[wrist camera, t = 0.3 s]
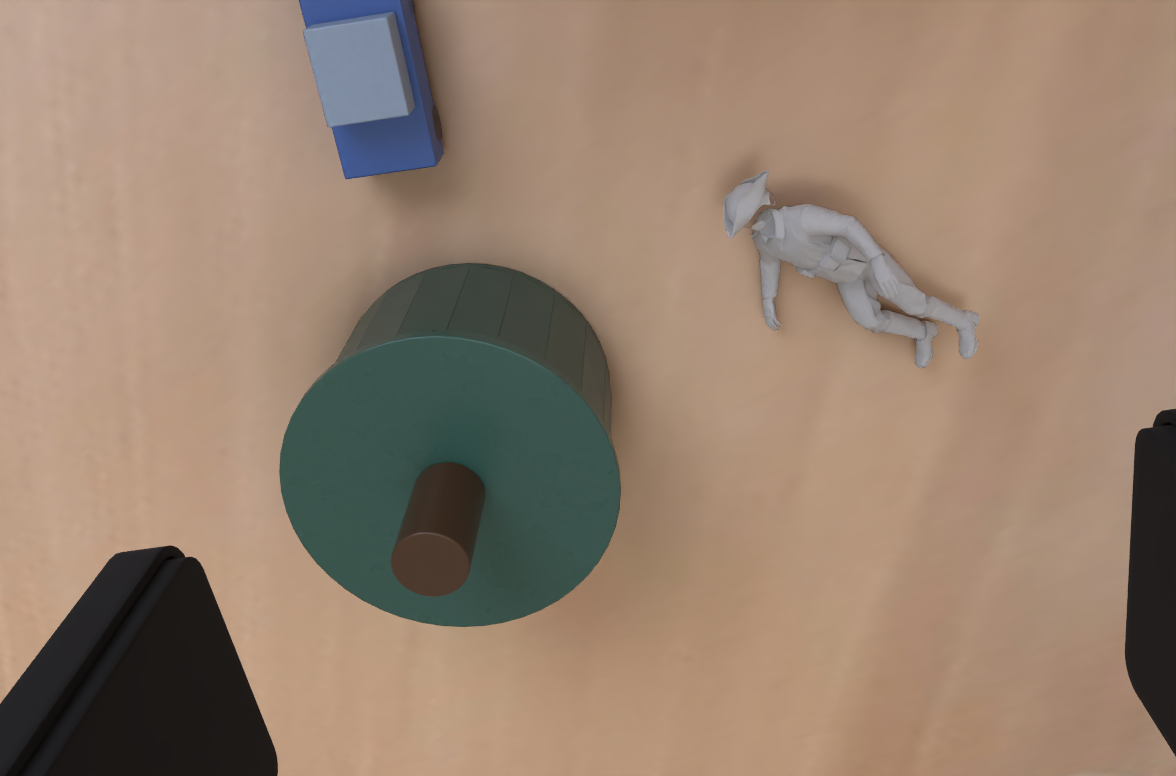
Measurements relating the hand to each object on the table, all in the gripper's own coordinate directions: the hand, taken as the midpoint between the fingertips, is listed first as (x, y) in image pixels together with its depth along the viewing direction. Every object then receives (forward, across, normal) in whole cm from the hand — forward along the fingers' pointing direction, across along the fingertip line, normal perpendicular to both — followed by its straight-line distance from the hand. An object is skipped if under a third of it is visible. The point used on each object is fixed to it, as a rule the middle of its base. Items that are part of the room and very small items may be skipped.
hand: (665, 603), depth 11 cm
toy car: (+36, +10, -2) cm, 37 cm away
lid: (+28, +10, +14) cm, 32 cm away
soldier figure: (+36, -8, +10) cm, 38 cm away
